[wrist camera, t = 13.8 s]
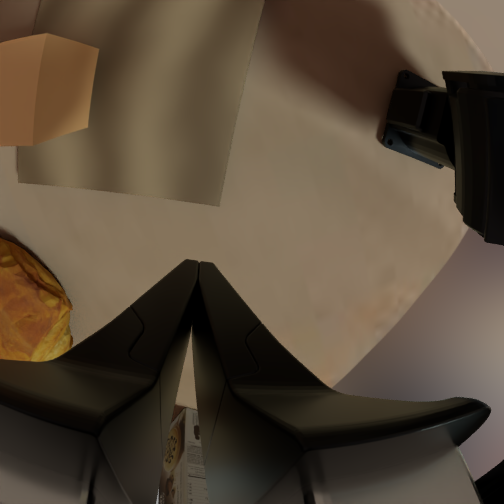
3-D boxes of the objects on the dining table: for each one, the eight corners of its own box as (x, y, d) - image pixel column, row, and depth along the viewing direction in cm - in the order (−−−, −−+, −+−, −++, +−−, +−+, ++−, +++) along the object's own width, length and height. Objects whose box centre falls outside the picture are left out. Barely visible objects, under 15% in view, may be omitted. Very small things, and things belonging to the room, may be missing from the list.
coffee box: (201, 443, 38) (204, 539, 24) (160, 433, 36) (155, 534, 22) (231, 418, 35) (241, 532, 21) (184, 405, 33) (182, 528, 19)
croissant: (47, 351, 30) (33, 405, 24) (-45, 273, 22) (-75, 323, 15) (113, 306, 27) (100, 375, 21) (-2, 196, 19) (-52, 252, 12)
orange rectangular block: (99, 49, 14) (46, 33, 8) (87, 127, 16) (32, 145, 10) (34, 54, 13) (-28, 50, 7) (25, 127, 15) (-37, 147, 9)
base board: (278, -52, 13) (281, -59, 12) (219, 200, 22) (219, 206, 21) (71, -54, 10) (65, -59, 9) (26, 178, 19) (18, 182, 18)
